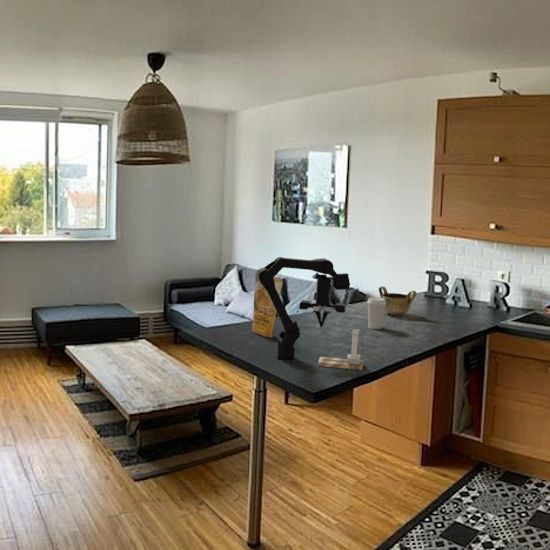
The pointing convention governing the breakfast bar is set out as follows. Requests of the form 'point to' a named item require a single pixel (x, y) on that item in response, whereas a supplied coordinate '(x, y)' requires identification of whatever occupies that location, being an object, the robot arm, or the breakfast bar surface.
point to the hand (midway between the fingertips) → (321, 326)
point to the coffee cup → (375, 312)
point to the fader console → (338, 363)
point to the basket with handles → (396, 301)
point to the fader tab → (354, 349)
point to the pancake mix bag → (264, 308)
